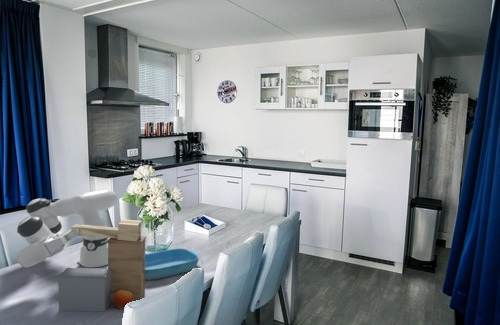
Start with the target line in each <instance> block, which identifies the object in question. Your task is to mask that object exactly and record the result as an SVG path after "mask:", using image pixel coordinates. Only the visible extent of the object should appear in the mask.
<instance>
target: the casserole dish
mask: <svg viewBox="0 0 500 325" xmlns="http://www.w3.org/2000/svg"><path fill="white" fill-rule="evenodd" d="M199 260H200V256H199V252H197V251H196V250H193V249H187V248H183V247H182V248H179V247H178V248H172V249H166V250H160V251H155V252H150V253H149V252H148V253H145V281H152V280H153V281H154V280H159V279H163V278H168V277H172V276H176V275H180V273H181V274H185V273H188V272H191V271H193V270H194V269H195V268H196V267H197V265H198V262H199ZM193 268H194V269H193ZM192 269H193V270H192ZM190 270H191V271H190ZM184 272H185V273H184Z"/></svg>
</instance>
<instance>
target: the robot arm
mask: <svg viewBox="0 0 500 325" xmlns="http://www.w3.org/2000/svg"><path fill="white" fill-rule="evenodd" d="M117 202H118V195H117V193H116V192H115V191H114V190H112V189H97V190H93V191H87V192H82V193H79V194H74V195H69V196H65V197H62V198H60V199H58V200H56V201H54V202H52V199H46V198H42V197H40V198H36V199H32V200H31V201H30V202H29V203H28V204H27V205H26V207H25V210H26V212H27V213H28V215H29V216H27V217H25V218H24V219H22V220H20V221H19V223H18V225H17V231H16V233H17V234H19V235H20V237H22V239H23V240H25V241H26V242H27V243H28V245H27V246H25V247H23V248H22V249H21V250H19V251H18V252H17V253H16V254H15V258H16V261H17V263H18V264H19V265H20V266H21V267H22V268H30V267H33V266H36V265H39V264H40V263H42V262H44V261H45V260H46V259H47V258H52V257H53V256H56V255H57V254H59V253H61V252H62V251H64V248H65V245H66V244H67V243H69V242H70V241H71V240H73V239H75V238H76V237H77V236H78V235H77V234H79V233H80V232H81V231H80V229H77V230H75V231H73V232H71V228H69V229H68V230H66V231H64V232H63V233H62V234H61V233H59V232H60V231H62V227H63V225H62V223H61V221H60V219H59V218H58V217H60V218H61V217H62V218H65V217H66V218H67V217H68V218H69V217H74V216H79V217H80V219H81V221H82V225H90V226H103V227H107V222H106V220H105V219H104V218H101V217H100V214H99V212H102V211H106V210H108V209H111V208H113V207H114V206H115V205H116V204H117ZM82 239H83V240H82V246H81V247H80V253H79V254H80V255H79V259H78V260H77V264H80V265H81V266H82V267H83V268H99V267H103V266H106V265H107V266H108V243H107V241H108V240H109V238H105V237H92V236H83V238H82Z"/></svg>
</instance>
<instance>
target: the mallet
mask: <svg viewBox="0 0 500 325" xmlns="http://www.w3.org/2000/svg"><path fill="white" fill-rule="evenodd" d="M117 224H118V227H113V226H106V227H103V226H90V225H83V224H76V223H75V224H73V225H71V226H70V229H71V232H73V231H75V230H77V229H80V231H81V232H80V233H79V234H77V236H79V237H80V236H81V237H84V236H92V237H105V238H108V239H110V238H118V239H117V240H126V241H137V240H138V239H139V238H140V237H141V236H142V225H143V223H142V220H137V219H136V220H135V219H122V220H121V221H120V222H119V223H117Z"/></svg>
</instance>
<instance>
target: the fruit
mask: <svg viewBox="0 0 500 325" xmlns="http://www.w3.org/2000/svg"><path fill="white" fill-rule="evenodd" d="M133 297H134V296H133V294H132V293H131V292H130V291H126V290H119V291H116V292H115V294H114V297H113V299H112V301H113V305H114V308H119V309H120V311H122V309H124V307H125V305H126V304H127V303H129V302H131V303H132V302H133V301H134V300H133ZM125 308H126V307H125Z"/></svg>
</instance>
